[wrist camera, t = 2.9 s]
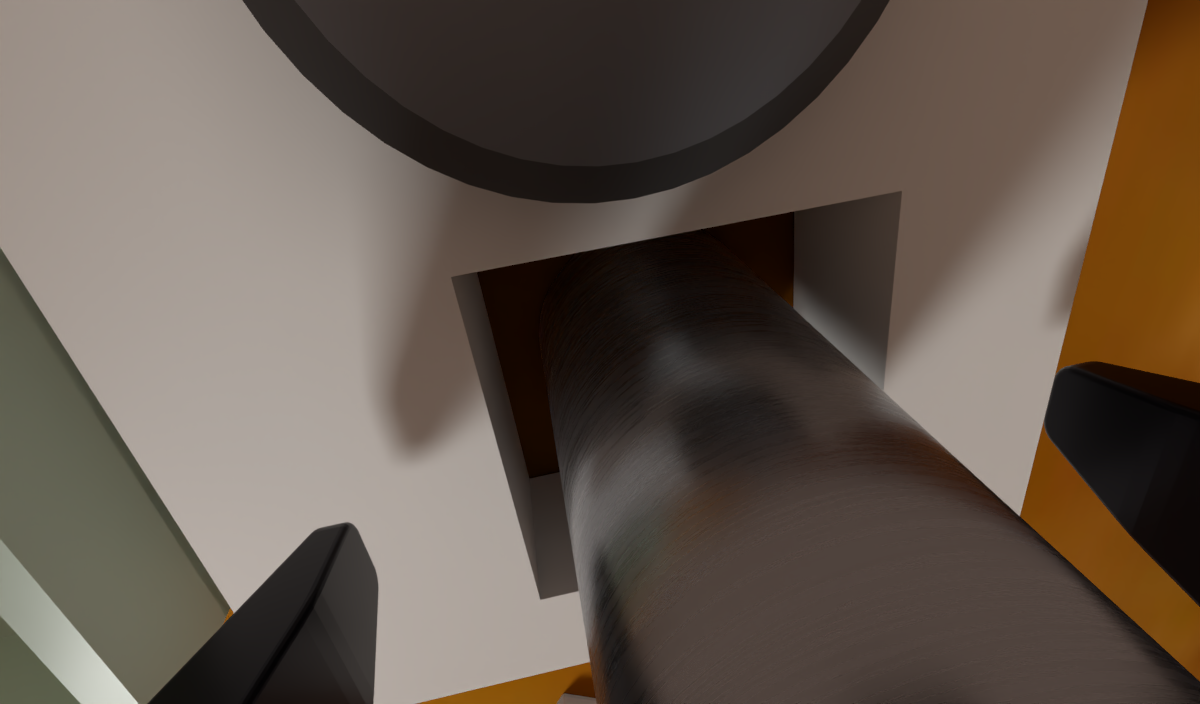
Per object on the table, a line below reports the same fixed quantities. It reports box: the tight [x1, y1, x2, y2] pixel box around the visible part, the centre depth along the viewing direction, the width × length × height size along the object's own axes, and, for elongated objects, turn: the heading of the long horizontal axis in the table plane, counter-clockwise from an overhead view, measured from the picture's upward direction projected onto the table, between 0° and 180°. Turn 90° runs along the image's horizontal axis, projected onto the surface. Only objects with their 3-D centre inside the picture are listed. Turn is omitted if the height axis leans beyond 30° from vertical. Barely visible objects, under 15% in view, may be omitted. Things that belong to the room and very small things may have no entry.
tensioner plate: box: [0, 0, 1148, 704], centre depth 8 cm, size 12×14×5 cm
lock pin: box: [539, 230, 1200, 704], centre depth 7 cm, size 4×4×10 cm
